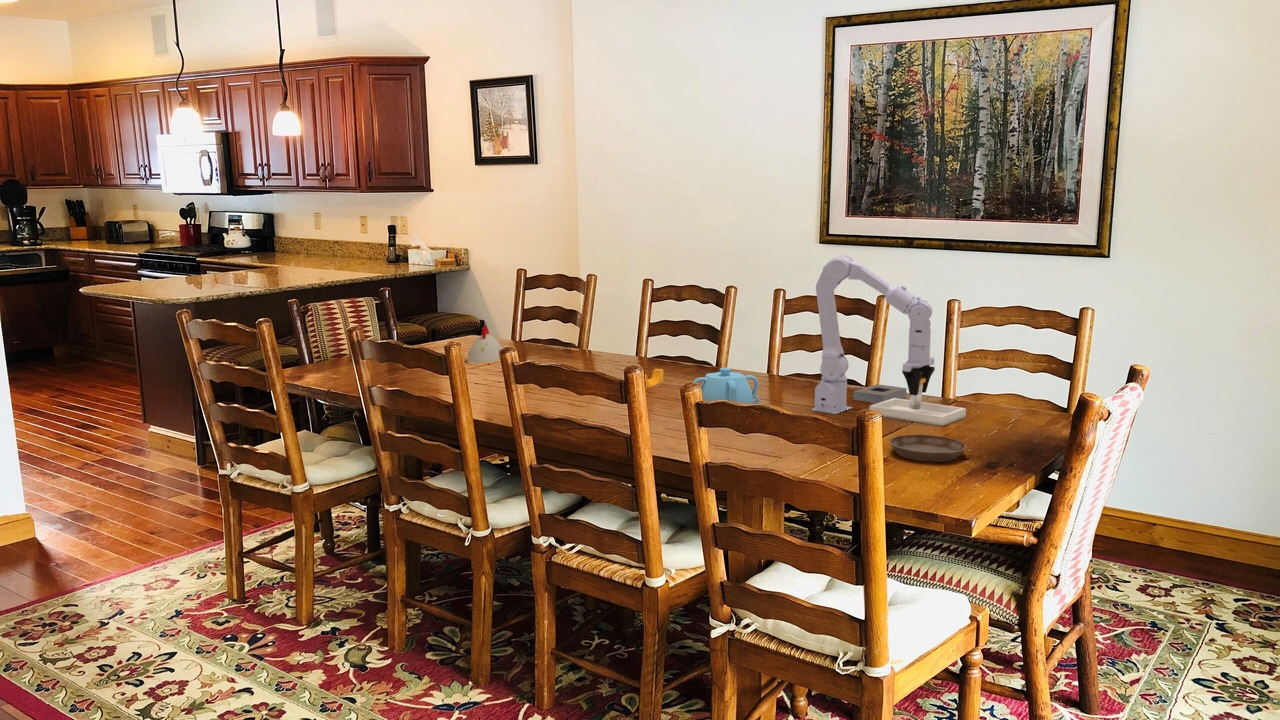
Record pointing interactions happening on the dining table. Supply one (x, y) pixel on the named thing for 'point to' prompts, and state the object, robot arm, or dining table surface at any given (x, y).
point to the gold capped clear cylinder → (917, 396)
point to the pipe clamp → (654, 378)
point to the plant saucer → (927, 447)
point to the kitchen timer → (484, 348)
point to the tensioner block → (879, 393)
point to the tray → (919, 412)
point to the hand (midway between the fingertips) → (917, 393)
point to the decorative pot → (728, 386)
